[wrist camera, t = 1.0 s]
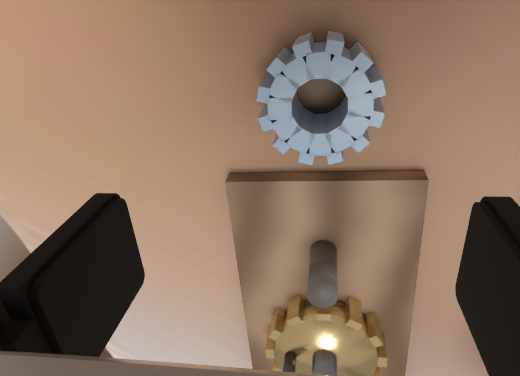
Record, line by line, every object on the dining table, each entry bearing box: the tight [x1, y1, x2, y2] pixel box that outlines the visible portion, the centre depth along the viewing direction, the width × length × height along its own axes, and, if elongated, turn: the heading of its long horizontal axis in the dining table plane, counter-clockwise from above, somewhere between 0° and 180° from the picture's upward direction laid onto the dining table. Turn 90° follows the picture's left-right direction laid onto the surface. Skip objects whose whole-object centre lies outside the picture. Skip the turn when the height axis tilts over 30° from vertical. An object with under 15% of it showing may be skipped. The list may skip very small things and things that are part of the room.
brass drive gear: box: [265, 294, 387, 376], centre depth 32 cm, size 10×10×5 cm
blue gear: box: [256, 30, 386, 165], centre depth 24 cm, size 7×7×4 cm
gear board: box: [225, 170, 428, 376], centre depth 31 cm, size 14×22×6 cm, turn 5°
